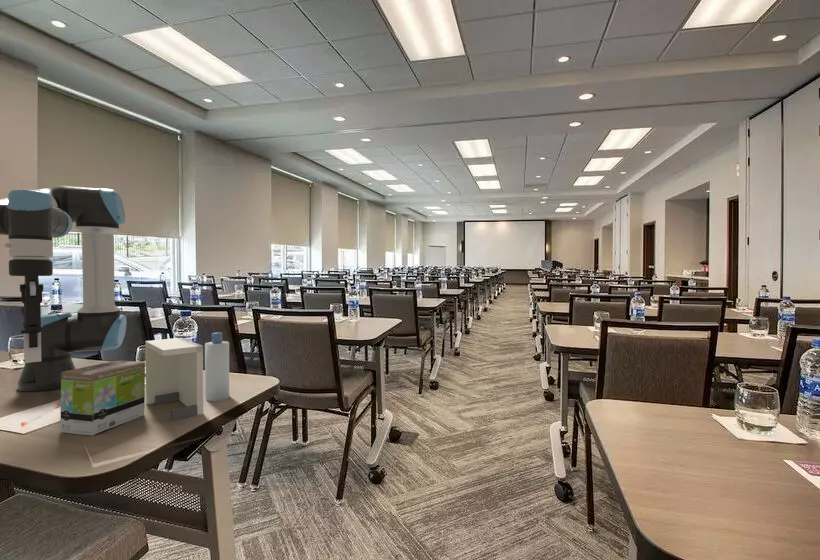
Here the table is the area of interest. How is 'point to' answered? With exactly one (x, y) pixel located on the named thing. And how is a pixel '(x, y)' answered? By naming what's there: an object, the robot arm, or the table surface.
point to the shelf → (175, 370)
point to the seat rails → (177, 412)
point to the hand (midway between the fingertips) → (32, 359)
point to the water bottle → (216, 368)
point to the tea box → (101, 396)
